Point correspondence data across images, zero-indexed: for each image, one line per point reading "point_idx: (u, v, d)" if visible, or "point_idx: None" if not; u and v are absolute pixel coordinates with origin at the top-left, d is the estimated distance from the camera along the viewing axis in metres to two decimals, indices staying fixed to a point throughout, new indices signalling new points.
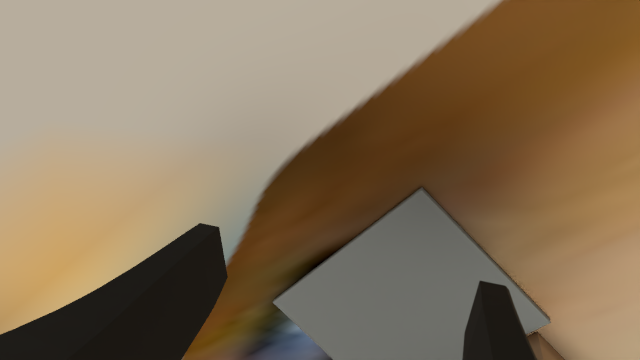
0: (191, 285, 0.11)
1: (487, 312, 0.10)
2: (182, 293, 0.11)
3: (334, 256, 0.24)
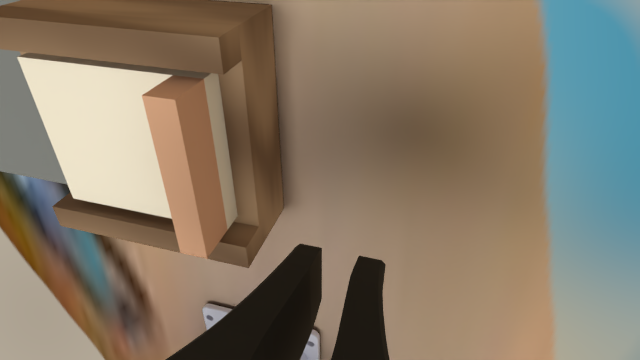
0: (300, 312, 0.11)
1: (352, 282, 0.10)
2: (294, 320, 0.10)
3: None
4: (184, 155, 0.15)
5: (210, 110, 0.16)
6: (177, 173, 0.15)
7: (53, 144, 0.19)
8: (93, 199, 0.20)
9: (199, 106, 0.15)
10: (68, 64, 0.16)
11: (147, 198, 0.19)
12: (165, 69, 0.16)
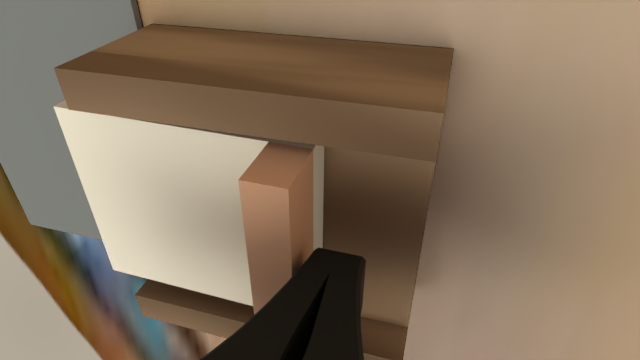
0: None
1: (331, 278, 0.10)
2: None
3: None
4: (288, 255, 0.11)
5: (314, 186, 0.12)
6: (273, 274, 0.11)
7: (93, 209, 0.15)
8: (139, 273, 0.16)
9: (306, 186, 0.11)
10: (123, 119, 0.12)
11: (210, 279, 0.15)
12: None
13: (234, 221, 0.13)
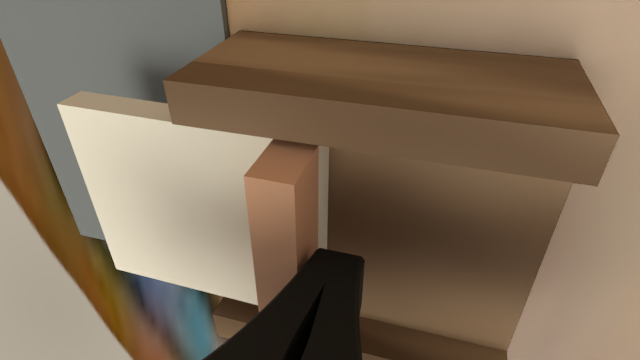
0: None
1: (329, 277, 0.10)
2: None
3: (43, 138, 0.19)
4: (293, 252, 0.11)
5: (320, 183, 0.12)
6: (278, 271, 0.11)
7: (96, 208, 0.15)
8: (142, 272, 0.16)
9: (312, 183, 0.11)
10: (127, 116, 0.12)
11: (214, 277, 0.15)
12: None
13: (238, 219, 0.13)
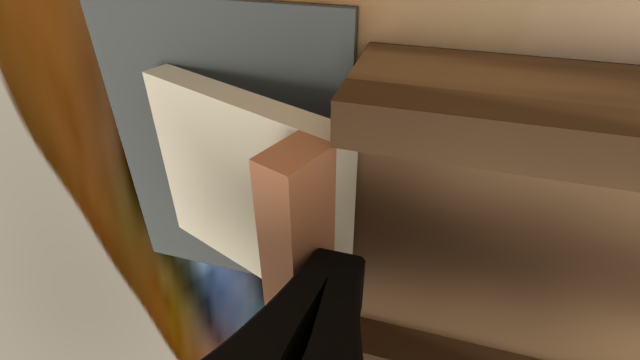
0: None
1: (330, 278, 0.10)
2: None
3: (126, 152, 0.18)
4: (289, 244, 0.11)
5: (338, 183, 0.11)
6: (277, 260, 0.11)
7: (166, 169, 0.17)
8: (197, 235, 0.18)
9: (323, 180, 0.11)
10: (188, 90, 0.14)
11: (249, 255, 0.16)
12: (292, 118, 0.12)
13: None
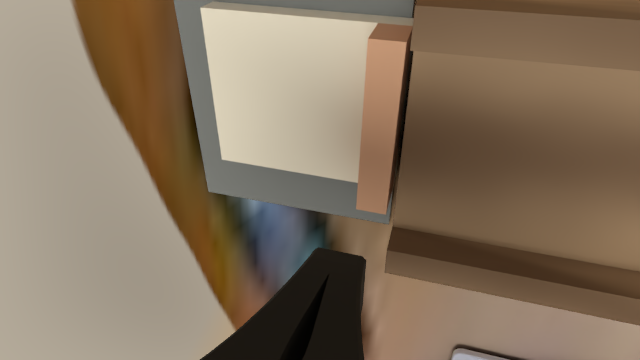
0: None
1: (331, 278, 0.10)
2: None
3: (191, 92, 0.20)
4: (397, 102, 0.15)
5: (409, 60, 0.16)
6: (381, 122, 0.15)
7: (215, 101, 0.19)
8: (245, 160, 0.20)
9: (408, 54, 0.15)
10: (259, 13, 0.16)
11: (308, 157, 0.19)
12: (364, 18, 0.16)
13: (338, 99, 0.17)
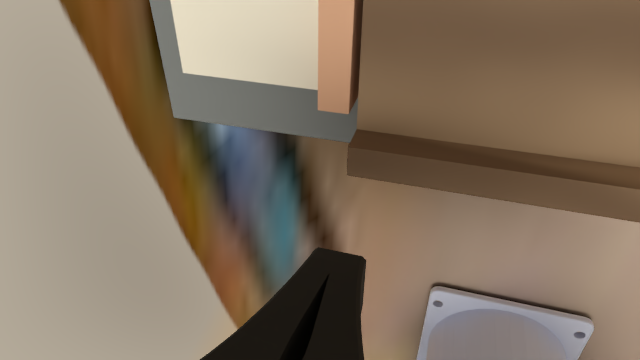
0: None
1: (331, 278, 0.10)
2: None
3: (151, 0, 0.19)
4: None
5: None
6: (338, 0, 0.14)
7: (172, 3, 0.18)
8: (206, 71, 0.19)
9: None
10: None
11: (270, 64, 0.18)
12: None
13: None
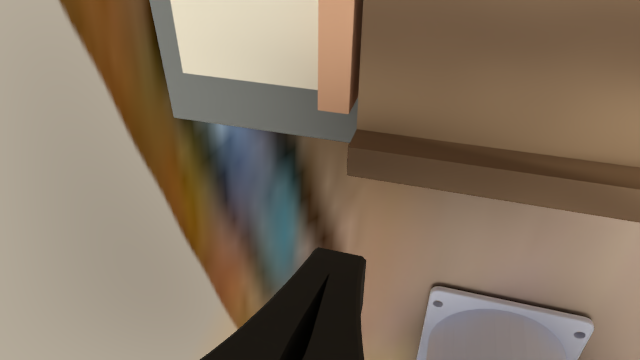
0: None
1: (331, 278, 0.10)
2: None
3: (151, 0, 0.19)
4: None
5: None
6: (338, 0, 0.14)
7: (172, 3, 0.18)
8: (206, 71, 0.19)
9: None
10: None
11: (270, 64, 0.18)
12: None
13: None
